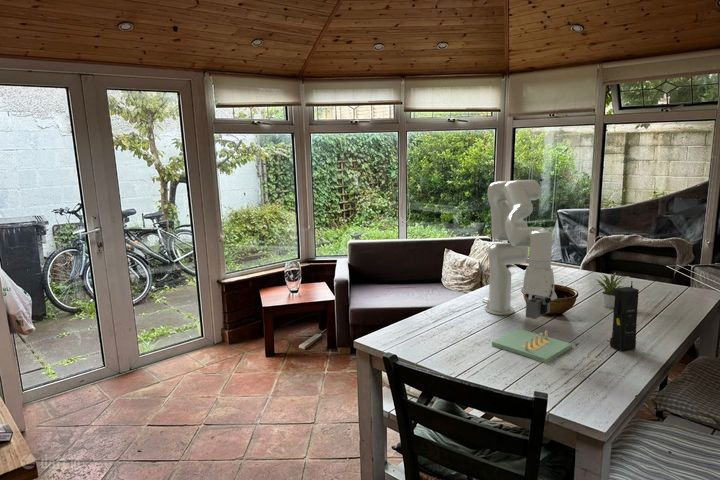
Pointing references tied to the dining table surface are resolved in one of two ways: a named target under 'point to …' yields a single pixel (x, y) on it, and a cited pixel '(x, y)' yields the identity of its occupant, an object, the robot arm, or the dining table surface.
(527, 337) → the header board
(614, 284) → the house plant
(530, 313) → the block
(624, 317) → the portable radio
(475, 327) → the dining table surface
